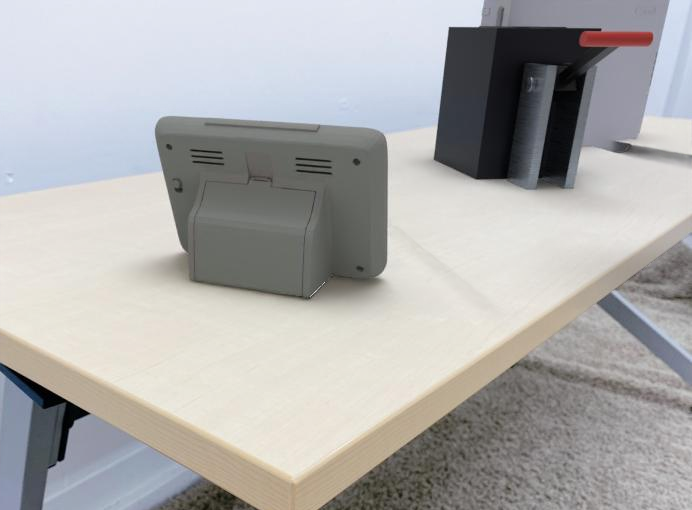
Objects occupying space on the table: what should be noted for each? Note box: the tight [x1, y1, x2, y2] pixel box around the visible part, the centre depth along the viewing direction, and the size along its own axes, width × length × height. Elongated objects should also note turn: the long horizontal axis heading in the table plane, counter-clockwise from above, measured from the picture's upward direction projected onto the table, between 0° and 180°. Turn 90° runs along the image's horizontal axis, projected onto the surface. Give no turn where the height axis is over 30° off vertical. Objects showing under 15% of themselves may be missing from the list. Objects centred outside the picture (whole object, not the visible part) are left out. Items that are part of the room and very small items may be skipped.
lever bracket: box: [506, 63, 597, 190], centre depth 71 cm, size 5×7×13 cm
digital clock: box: [154, 115, 389, 298], centre depth 48 cm, size 16×9×11 cm, turn 55°
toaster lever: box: [551, 31, 653, 102], centre depth 65 cm, size 11×6×2 cm, turn 8°
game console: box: [479, 0, 671, 153], centre depth 93 cm, size 6×27×20 cm, turn 115°
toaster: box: [433, 25, 602, 181], centre depth 78 cm, size 12×11×16 cm
